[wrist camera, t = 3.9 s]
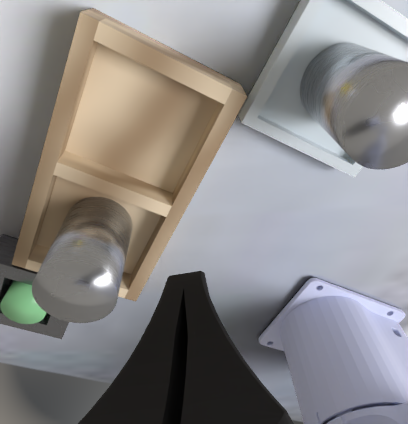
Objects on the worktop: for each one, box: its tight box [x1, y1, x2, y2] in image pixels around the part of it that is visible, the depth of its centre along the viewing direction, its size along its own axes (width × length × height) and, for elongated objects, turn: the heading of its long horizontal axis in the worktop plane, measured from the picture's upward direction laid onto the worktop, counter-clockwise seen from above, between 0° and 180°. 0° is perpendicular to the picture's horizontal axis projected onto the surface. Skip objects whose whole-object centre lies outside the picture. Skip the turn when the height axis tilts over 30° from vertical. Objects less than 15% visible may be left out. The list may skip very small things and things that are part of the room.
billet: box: [300, 43, 408, 169], centre depth 16 cm, size 4×4×6 cm
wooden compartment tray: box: [12, 8, 247, 301], centre depth 20 cm, size 8×15×2 cm, turn 154°
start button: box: [0, 280, 46, 324], centre depth 24 cm, size 3×3×3 cm
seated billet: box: [32, 197, 133, 323], centre depth 20 cm, size 4×4×6 cm
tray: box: [238, 0, 408, 178], centre depth 19 cm, size 8×8×1 cm
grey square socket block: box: [0, 235, 69, 339], centre depth 25 cm, size 6×6×2 cm
